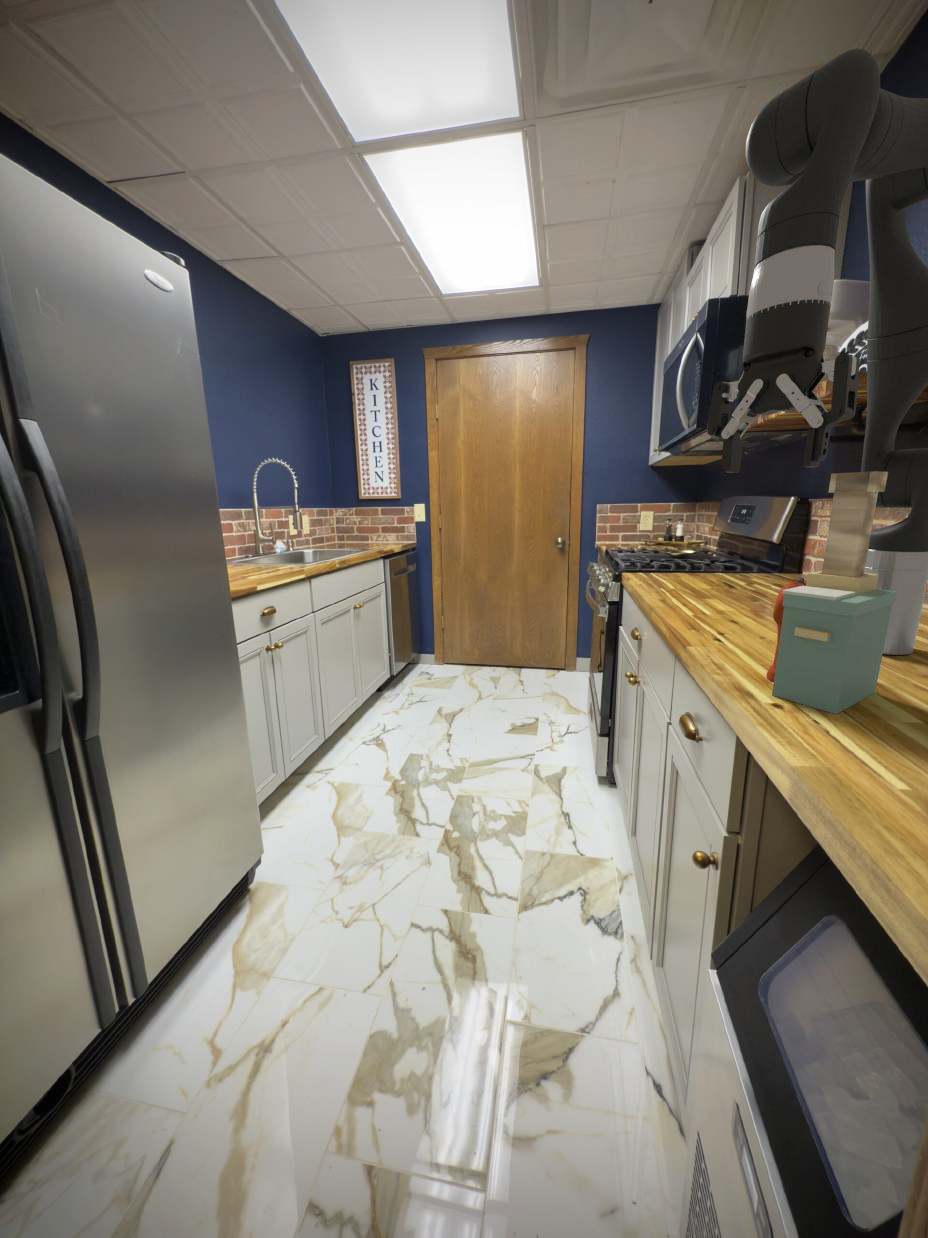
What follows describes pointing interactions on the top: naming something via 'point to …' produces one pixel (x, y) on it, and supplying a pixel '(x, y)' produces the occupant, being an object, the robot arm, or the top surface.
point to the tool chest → (832, 641)
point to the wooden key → (851, 521)
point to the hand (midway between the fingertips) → (769, 469)
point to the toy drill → (780, 621)
